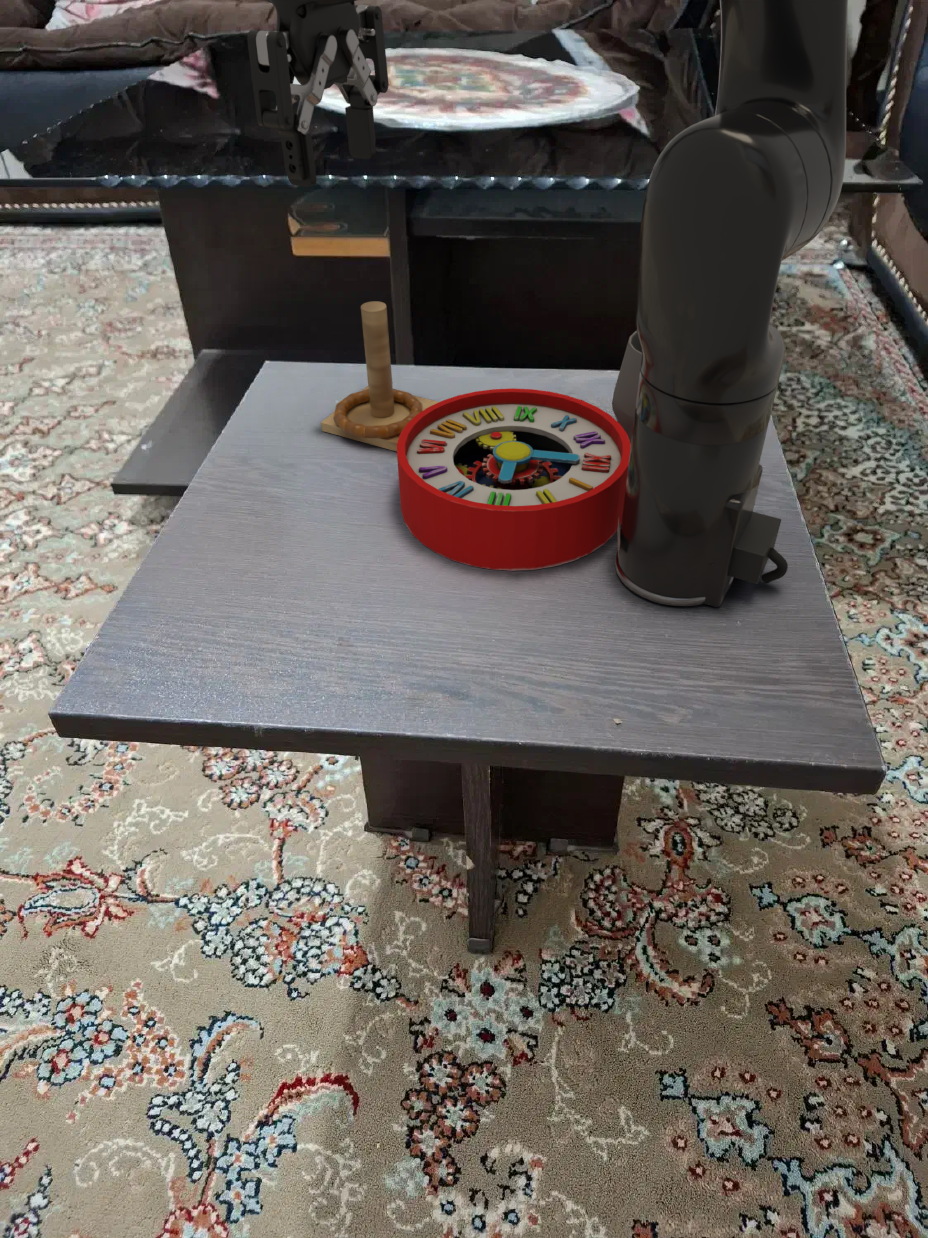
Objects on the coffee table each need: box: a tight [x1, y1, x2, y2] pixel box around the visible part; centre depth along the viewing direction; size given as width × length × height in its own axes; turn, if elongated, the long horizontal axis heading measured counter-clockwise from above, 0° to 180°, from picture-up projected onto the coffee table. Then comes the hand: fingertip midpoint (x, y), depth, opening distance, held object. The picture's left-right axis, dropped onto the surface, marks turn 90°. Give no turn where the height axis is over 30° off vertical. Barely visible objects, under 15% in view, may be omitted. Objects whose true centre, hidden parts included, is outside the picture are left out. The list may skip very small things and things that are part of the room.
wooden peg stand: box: [320, 300, 439, 453], centre depth 87 cm, size 9×9×12 cm
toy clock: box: [396, 387, 631, 572], centre depth 78 cm, size 20×6×20 cm
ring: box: [333, 388, 423, 438], centre depth 89 cm, size 9×9×1 cm
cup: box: [611, 330, 642, 443], centre depth 84 cm, size 10×9×10 cm
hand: (334, 170), depth 72 cm, fingers open, 8 cm apart
